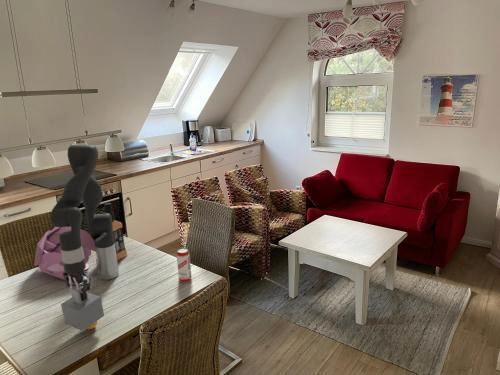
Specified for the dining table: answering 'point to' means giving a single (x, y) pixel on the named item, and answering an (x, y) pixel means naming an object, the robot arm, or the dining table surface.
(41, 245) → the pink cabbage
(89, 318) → the grey stepped block
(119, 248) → the whiskey bottle
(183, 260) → the beer can
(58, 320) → the dining table surface
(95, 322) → the ball
